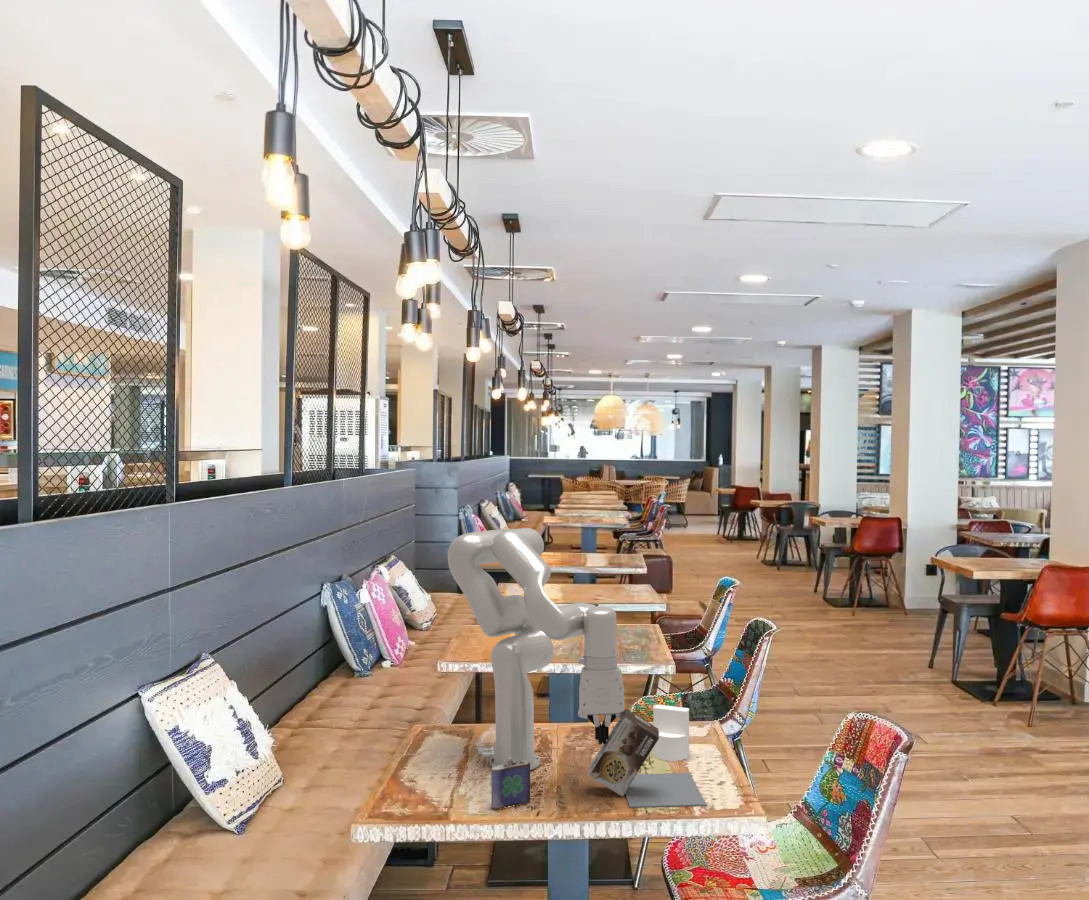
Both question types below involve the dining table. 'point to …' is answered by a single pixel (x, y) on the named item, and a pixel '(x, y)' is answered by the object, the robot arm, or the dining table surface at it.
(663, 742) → the cylinder with rectangular tab
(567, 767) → the dining table surface
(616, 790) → the coffee box
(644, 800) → the mat
